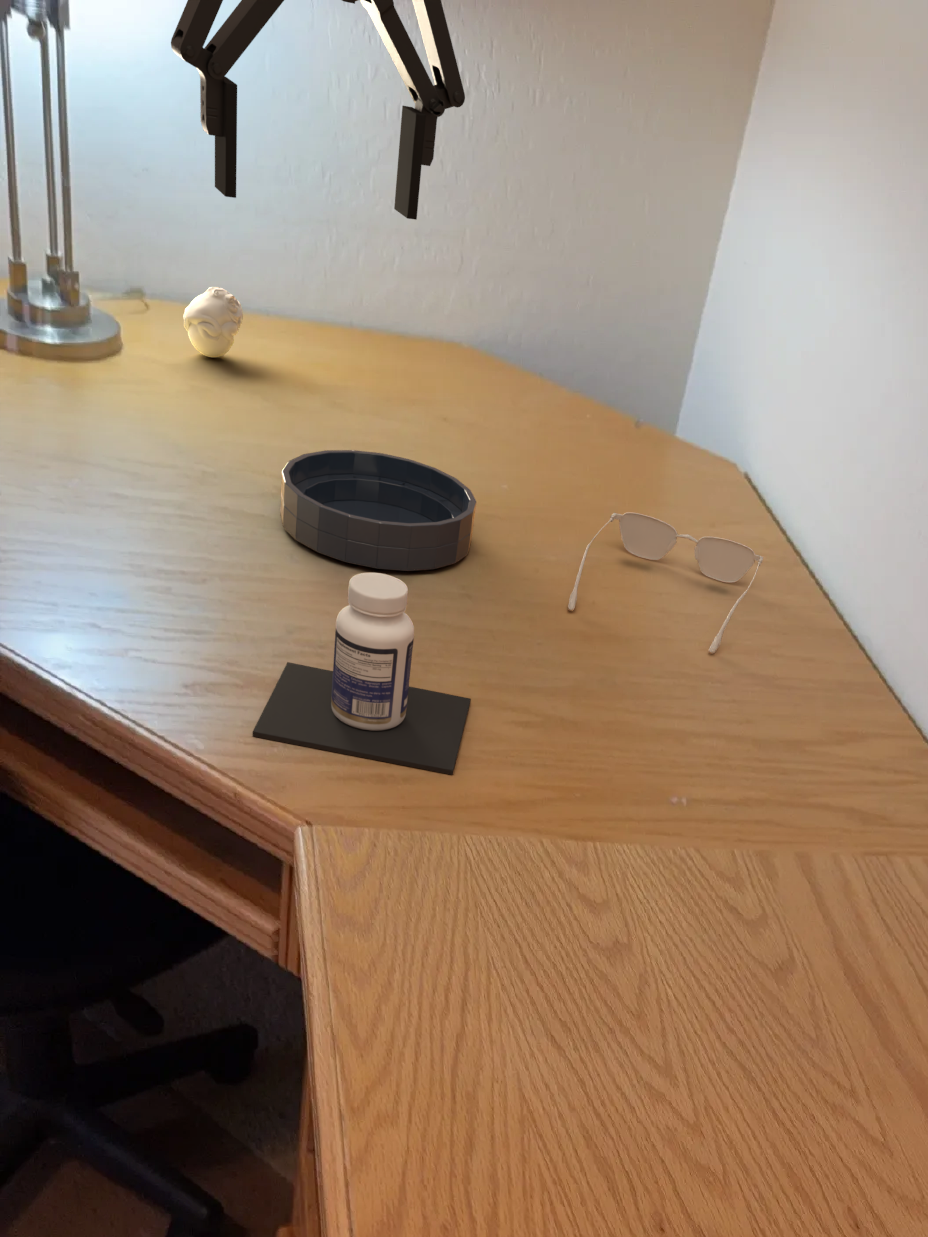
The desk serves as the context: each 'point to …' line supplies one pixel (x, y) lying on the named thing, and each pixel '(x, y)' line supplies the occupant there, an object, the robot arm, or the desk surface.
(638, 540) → the eyeglasses
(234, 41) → the robot arm
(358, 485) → the bowl
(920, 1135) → the desk surface
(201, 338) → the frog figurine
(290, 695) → the mat
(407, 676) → the pill bottle
